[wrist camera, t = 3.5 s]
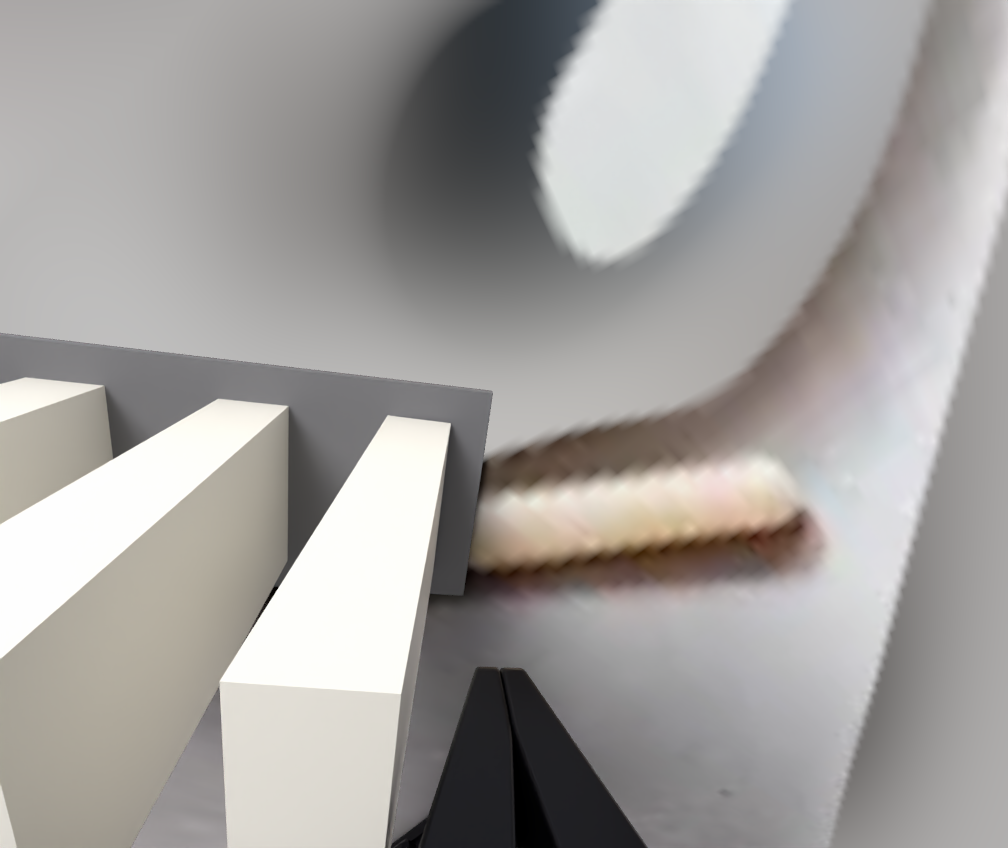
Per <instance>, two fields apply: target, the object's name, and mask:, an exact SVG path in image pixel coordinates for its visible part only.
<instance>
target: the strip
mask: <svg viewBox="0 0 1008 848" xmlns="http://www.w3.org/2000/svg"><path fill="white" fill-rule="evenodd" d="M25 377H27V378H36V379H46V380H55V381H65V382H74V383H84V384H93V385H103V386H105V394H106V402H107V411H108V419H109V428H110V436H111V445H112V453H113V459H115V458H116V457H118V456H120V455H121V454H123V453H125V452H127V451H128V450H130V449H132V448H134V447H135V446H137V445H139V444H141V443H142V442H144V441H146V440H148V439H149V438H151V437H153V436H154V435H156V434H158V433H160V432H161V431H163V430H165V429H167V428H168V427H170V426H172V425H174V424H175V423H177V422H179V421H180V420H182V419H184V418H186V417H187V416H189V415H191V414H193V413H194V412H196V411H198V410H200V409H201V408H203V407H205V406H207V405H208V404H210V403H212V402H213V401H215V400H217V399H226V400H235V401H245V402H254V403H264V404H273V405H283V406H289V433H288V561H287V563H286V564H285V566H284V568H283V570H282V572H281V574H280V575H279V577H278V579H277V581H276V583H275V585H274V586H276V587H279V586H280V585H281V583H282V582H283V580H284V579H285V577H286V575H287V574H288V572H289V571H290V569H291V567H292V566H293V564H294V563H295V561H296V560H297V558H298V556H299V555H300V553H301V552H302V550H303V548H304V547H305V545H306V544H307V542H308V541H309V539H310V537H311V536H312V534H313V533H314V531H315V529H316V528H317V526H318V525H319V523H320V522H321V520H322V518H323V517H324V515H325V514H326V512H327V511H328V509H329V507H330V506H331V504H332V503H333V501H334V499H335V498H336V496H337V495H338V493H339V492H340V490H341V488H342V487H343V485H344V484H345V482H346V480H347V479H348V477H349V476H350V474H351V473H352V471H353V469H354V468H355V466H356V465H357V463H358V461H359V460H360V458H361V457H362V455H363V454H364V452H365V450H366V449H367V447H368V446H369V444H370V443H371V441H372V439H373V438H374V436H375V435H376V433H377V431H378V430H379V428H380V427H381V425H382V424H383V422H384V420H385V419H386V417H387V416H388V415H389V416H397V417H405V418H413V419H421V420H429V421H437V422H445V423H451V427H450V435H449V444H448V452H447V460H446V469H445V477H444V485H443V493H442V502H441V510H440V518H439V527H438V535H437V543H436V552H435V560H434V568H433V575H432V582H431V588H430V594H442V595H463V593H464V587H465V580H466V573H467V566H468V559H469V552H470V546H471V539H472V532H473V525H474V518H475V511H476V505H477V498H478V491H479V484H480V477H481V471H482V464H483V457H484V450H485V443H486V436H487V429H488V423H489V415H490V409H491V402H492V395H493V393H492V391H489V390H481V389H472V388H464V387H455V386H446V385H438V384H430V383H421V382H412V381H404V380H395V379H387V378H379V377H370V376H362V375H353V374H344V373H336V372H327V371H319V370H311V369H301V368H294V367H285V366H276V365H268V364H259V363H251V362H243V361H234V360H225V359H217V358H209V357H200V356H192V355H183V354H174V353H165V352H158V351H149V350H141V349H132V348H123V347H114V346H106V345H98V344H89V343H80V342H72V341H64V340H55V339H47V338H38V337H30V336H21V335H13V334H3V333H0V384H2V383H6V382H10V381H14V380H18V379H21V378H25Z"/></svg>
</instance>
